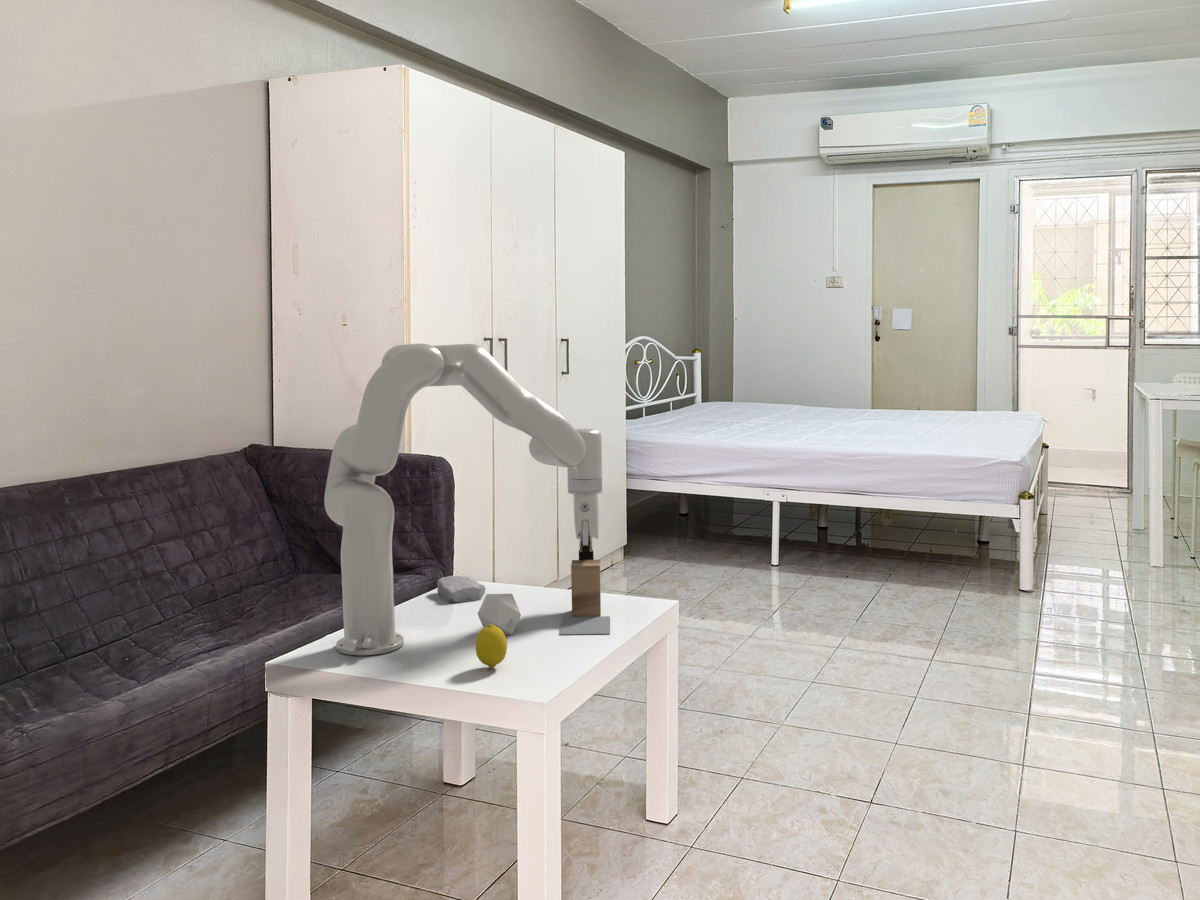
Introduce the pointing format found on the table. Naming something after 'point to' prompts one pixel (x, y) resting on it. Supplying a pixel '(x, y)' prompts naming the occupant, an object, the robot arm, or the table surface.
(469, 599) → the stone block
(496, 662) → the lemon
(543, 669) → the table surface
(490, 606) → the die
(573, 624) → the pad
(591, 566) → the walnut block
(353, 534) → the robot arm
